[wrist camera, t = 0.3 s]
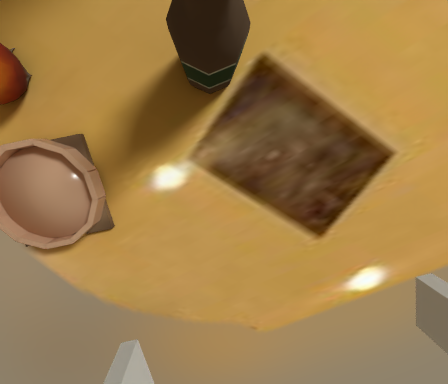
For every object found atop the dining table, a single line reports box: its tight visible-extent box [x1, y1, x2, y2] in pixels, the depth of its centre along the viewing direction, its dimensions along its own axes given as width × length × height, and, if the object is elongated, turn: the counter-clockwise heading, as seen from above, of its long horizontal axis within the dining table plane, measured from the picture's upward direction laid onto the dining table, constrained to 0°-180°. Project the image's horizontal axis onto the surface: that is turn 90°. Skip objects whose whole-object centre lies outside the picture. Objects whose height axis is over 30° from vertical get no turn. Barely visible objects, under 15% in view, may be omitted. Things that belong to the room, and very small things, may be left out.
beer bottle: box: [166, 0, 250, 94], centre depth 21 cm, size 8×8×24 cm
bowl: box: [0, 139, 106, 249], centre depth 33 cm, size 16×16×2 cm
